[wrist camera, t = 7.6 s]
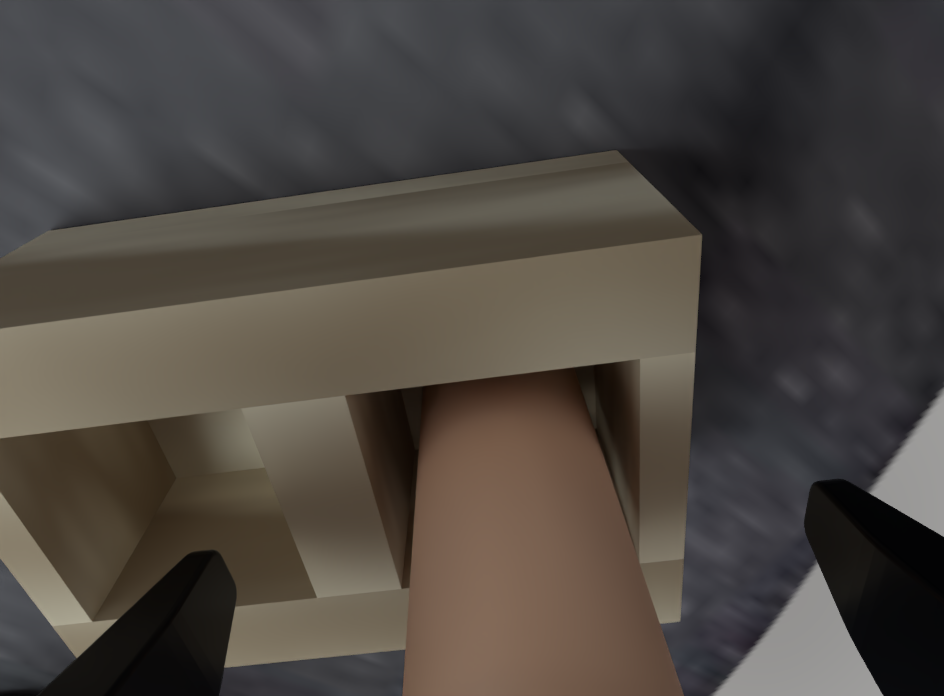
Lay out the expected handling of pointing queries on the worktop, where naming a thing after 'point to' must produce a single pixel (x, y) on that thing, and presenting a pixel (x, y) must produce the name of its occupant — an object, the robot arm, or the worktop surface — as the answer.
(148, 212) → the worktop surface
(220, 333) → the socket block
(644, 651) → the peg
